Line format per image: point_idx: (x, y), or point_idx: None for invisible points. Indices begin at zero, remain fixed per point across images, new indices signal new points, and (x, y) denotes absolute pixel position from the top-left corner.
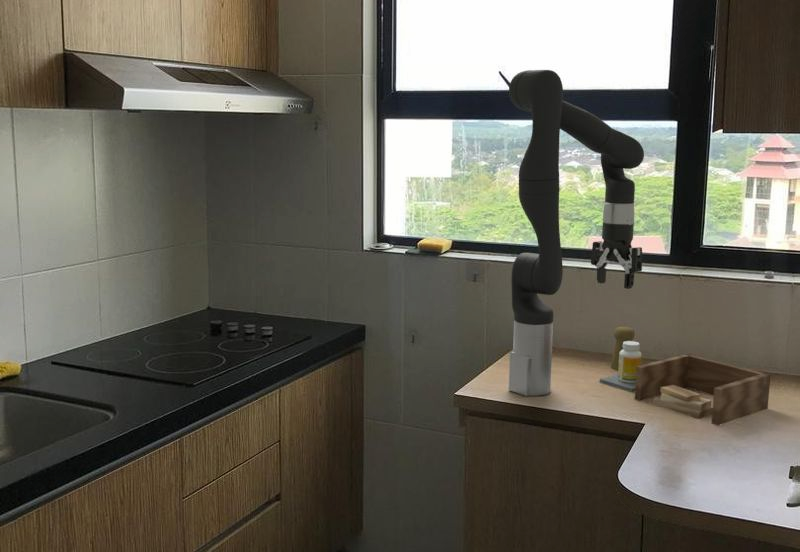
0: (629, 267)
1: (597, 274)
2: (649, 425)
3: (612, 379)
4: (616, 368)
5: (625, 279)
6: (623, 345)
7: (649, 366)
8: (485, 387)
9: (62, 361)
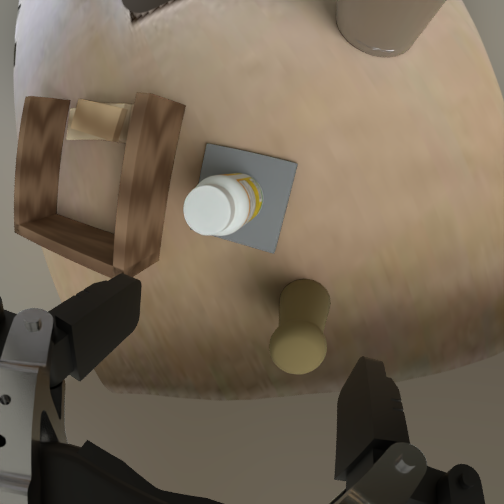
0: (57, 405)
1: (398, 411)
2: (124, 24)
3: (271, 179)
4: (308, 281)
5: (95, 301)
6: (223, 190)
7: (131, 120)
8: (444, 6)
9: None
